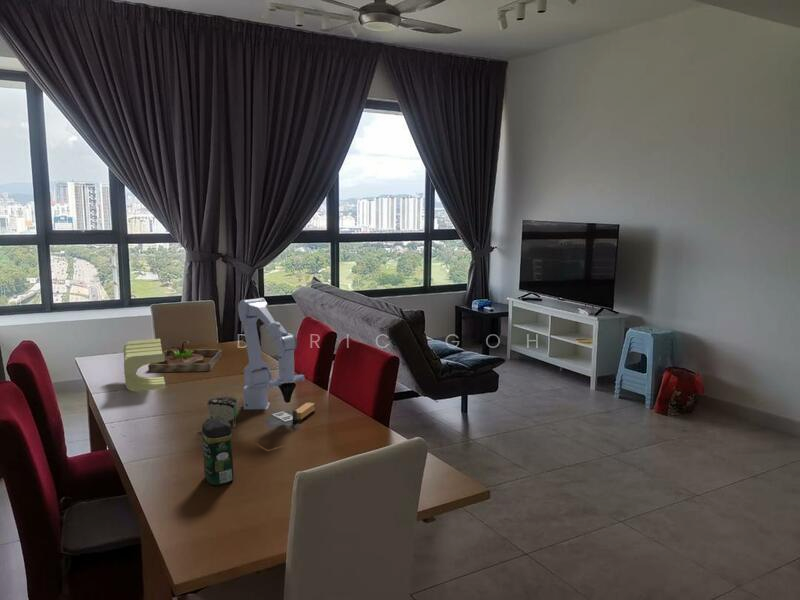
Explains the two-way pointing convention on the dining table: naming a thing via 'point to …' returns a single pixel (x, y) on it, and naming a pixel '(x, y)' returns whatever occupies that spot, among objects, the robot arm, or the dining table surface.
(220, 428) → the coffee jar
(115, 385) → the dining table surface
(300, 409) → the yellow rectangular bar
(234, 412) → the food container
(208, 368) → the square wooden planter tray
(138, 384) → the slatted curved stool
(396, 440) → the dining table surface
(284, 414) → the label far
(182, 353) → the plant
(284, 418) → the label near
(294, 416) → the tray
